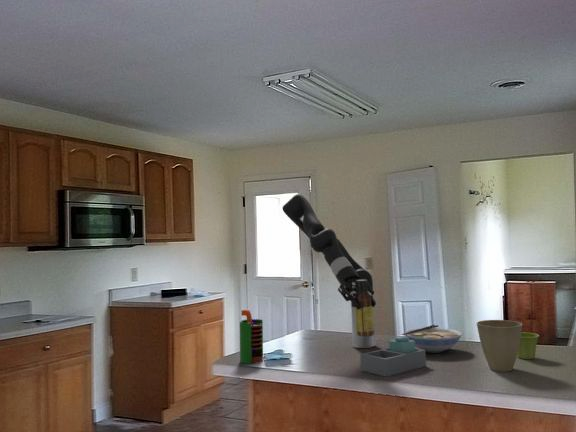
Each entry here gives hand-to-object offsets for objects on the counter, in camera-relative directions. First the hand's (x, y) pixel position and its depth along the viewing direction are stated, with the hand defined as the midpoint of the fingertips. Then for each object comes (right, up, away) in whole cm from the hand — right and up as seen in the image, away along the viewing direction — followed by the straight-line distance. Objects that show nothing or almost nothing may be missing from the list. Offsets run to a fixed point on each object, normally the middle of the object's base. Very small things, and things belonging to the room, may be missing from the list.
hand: (367, 306), depth 196 cm
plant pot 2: (+62, -21, +11) cm, 66 cm away
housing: (+10, -22, +2) cm, 24 cm away
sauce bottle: (-1, -11, +1) cm, 11 cm away
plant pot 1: (+46, -21, -5) cm, 51 cm away
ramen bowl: (+31, -23, +28) cm, 48 cm away
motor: (-43, -25, +21) cm, 53 cm away
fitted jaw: (+14, -21, +5) cm, 26 cm away
